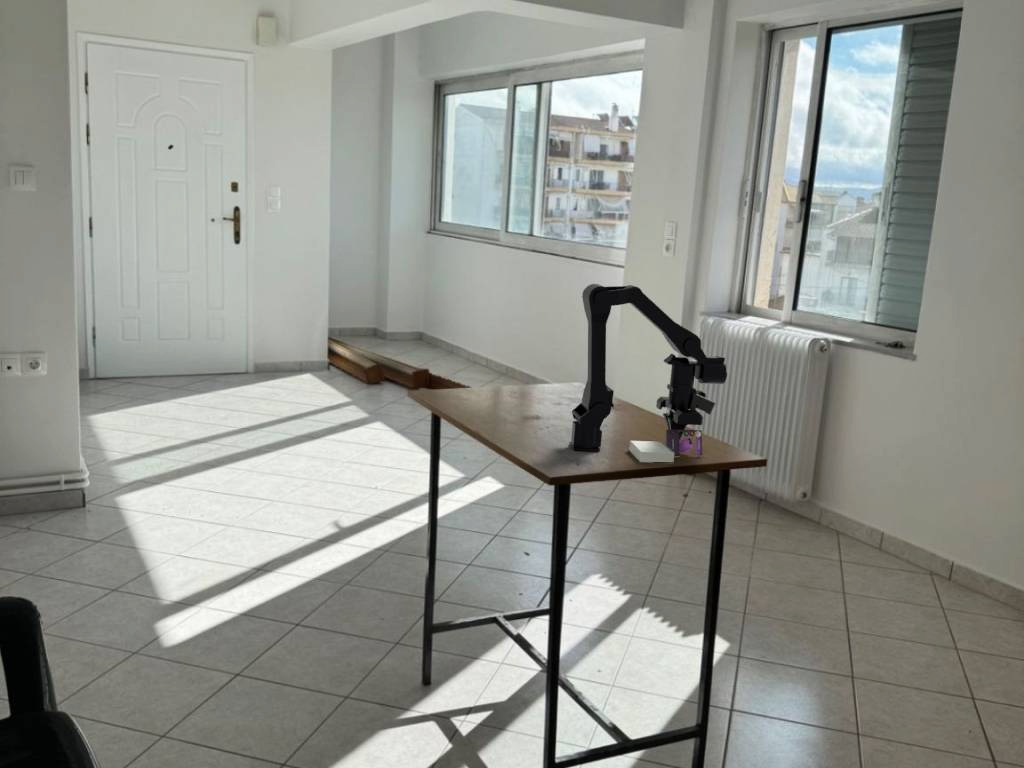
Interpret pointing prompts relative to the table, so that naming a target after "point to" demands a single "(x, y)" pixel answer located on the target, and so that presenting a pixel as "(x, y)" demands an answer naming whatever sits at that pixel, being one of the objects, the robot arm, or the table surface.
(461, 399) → the table surface
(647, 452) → the slab
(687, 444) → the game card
